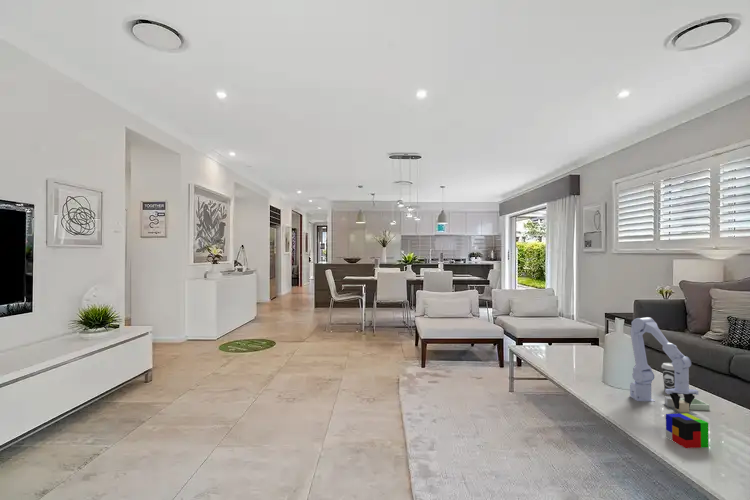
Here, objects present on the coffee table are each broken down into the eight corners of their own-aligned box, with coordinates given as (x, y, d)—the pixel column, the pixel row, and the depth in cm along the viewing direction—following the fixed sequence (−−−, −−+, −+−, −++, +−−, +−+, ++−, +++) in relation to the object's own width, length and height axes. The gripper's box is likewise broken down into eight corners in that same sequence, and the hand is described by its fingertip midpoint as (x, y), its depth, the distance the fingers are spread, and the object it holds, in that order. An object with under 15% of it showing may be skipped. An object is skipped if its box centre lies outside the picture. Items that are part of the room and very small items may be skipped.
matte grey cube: (667, 406, 211) (667, 398, 211) (664, 403, 215) (664, 396, 215) (677, 407, 209) (677, 399, 209) (674, 404, 213) (674, 397, 213)
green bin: (690, 410, 207) (690, 404, 207) (678, 403, 216) (678, 398, 216) (709, 410, 206) (709, 405, 206) (696, 404, 215) (696, 398, 215)
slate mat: (679, 415, 200) (679, 414, 200) (662, 404, 214) (662, 404, 214) (697, 415, 200) (697, 415, 200) (678, 405, 214) (678, 404, 214)
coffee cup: (685, 394, 231) (685, 367, 231) (666, 392, 233) (666, 366, 233) (676, 388, 240) (676, 362, 241) (658, 387, 242) (658, 362, 242)
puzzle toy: (666, 437, 176) (665, 414, 176) (687, 436, 177) (687, 413, 177) (685, 448, 166) (685, 423, 166) (708, 447, 167) (708, 422, 167)
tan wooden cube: (680, 412, 203) (680, 403, 203) (674, 409, 207) (674, 400, 207) (689, 412, 203) (689, 403, 203) (683, 409, 207) (683, 400, 207)
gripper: (671, 383, 202) (671, 411, 202) (702, 384, 201) (703, 411, 200) (662, 378, 209) (662, 405, 209) (692, 379, 208) (693, 406, 207)
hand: (681, 408), depth 205 cm, fingers closed on tan wooden cube, 4 cm apart
